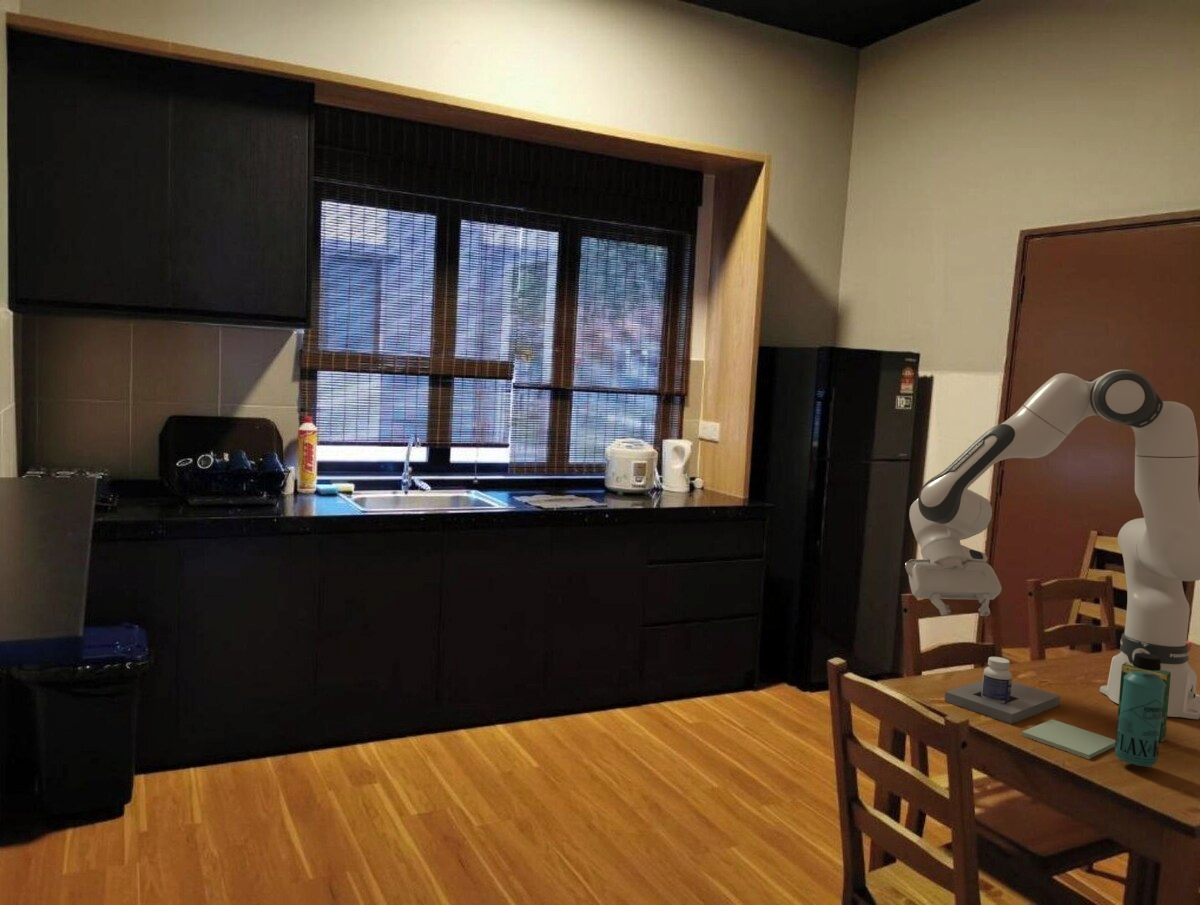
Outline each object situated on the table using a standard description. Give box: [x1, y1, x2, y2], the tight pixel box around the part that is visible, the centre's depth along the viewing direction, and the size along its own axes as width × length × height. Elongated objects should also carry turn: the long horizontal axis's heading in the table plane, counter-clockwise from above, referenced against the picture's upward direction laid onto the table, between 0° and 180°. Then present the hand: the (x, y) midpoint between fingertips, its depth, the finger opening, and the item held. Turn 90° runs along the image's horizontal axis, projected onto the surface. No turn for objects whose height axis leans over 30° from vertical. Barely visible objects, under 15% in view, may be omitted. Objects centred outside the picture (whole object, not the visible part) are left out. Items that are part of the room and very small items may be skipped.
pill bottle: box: [981, 656, 1013, 704], centre depth 182 cm, size 5×5×10 cm
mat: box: [1021, 719, 1116, 760], centre depth 166 cm, size 12×12×1 cm
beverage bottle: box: [1114, 653, 1166, 767], centre depth 154 cm, size 6×7×20 cm
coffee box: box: [1116, 662, 1171, 743], centre depth 170 cm, size 8×3×13 cm, turn 43°
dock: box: [944, 679, 1061, 725], centre depth 184 cm, size 20×14×2 cm
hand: (966, 614), depth 193 cm, fingers open, 8 cm apart
